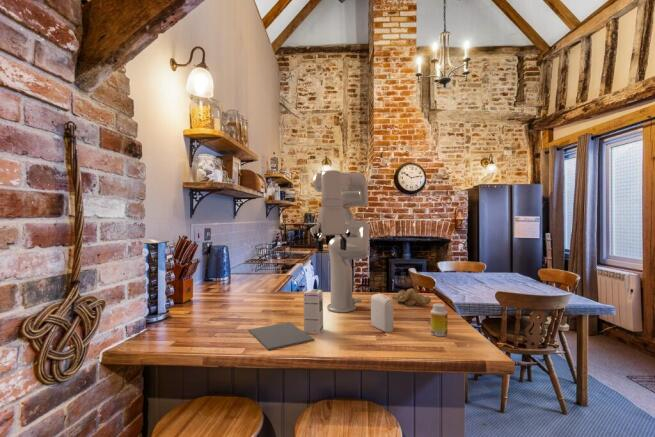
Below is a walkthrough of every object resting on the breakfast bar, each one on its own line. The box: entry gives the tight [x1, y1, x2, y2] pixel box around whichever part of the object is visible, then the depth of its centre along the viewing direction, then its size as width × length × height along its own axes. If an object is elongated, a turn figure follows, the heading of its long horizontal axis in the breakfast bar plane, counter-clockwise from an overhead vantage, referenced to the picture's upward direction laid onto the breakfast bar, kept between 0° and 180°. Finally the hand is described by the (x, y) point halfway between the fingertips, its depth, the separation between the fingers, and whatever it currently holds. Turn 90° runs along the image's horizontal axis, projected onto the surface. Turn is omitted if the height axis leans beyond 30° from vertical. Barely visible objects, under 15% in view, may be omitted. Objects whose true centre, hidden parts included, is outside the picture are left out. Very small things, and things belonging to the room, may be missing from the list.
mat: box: [248, 321, 315, 351], centre depth 117 cm, size 16×20×1 cm
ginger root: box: [391, 287, 432, 307], centre depth 159 cm, size 16×16×8 cm
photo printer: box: [370, 293, 395, 333], centre depth 125 cm, size 10×4×12 cm, turn 26°
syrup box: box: [303, 288, 324, 335], centre depth 122 cm, size 6×6×14 cm
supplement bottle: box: [430, 303, 448, 337], centre depth 118 cm, size 6×6×10 cm
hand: (331, 250), depth 126 cm, fingers open, 9 cm apart
